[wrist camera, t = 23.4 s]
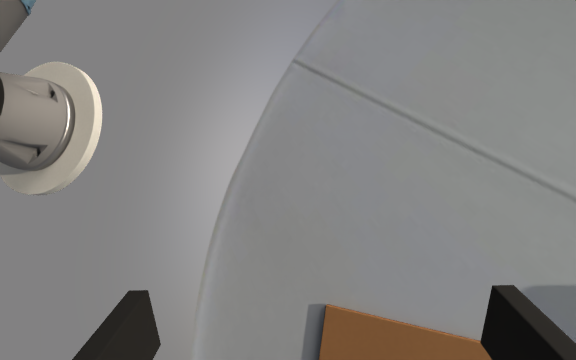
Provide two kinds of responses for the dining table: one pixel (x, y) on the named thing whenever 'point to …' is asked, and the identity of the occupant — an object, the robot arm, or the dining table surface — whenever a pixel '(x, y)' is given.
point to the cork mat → (389, 340)
